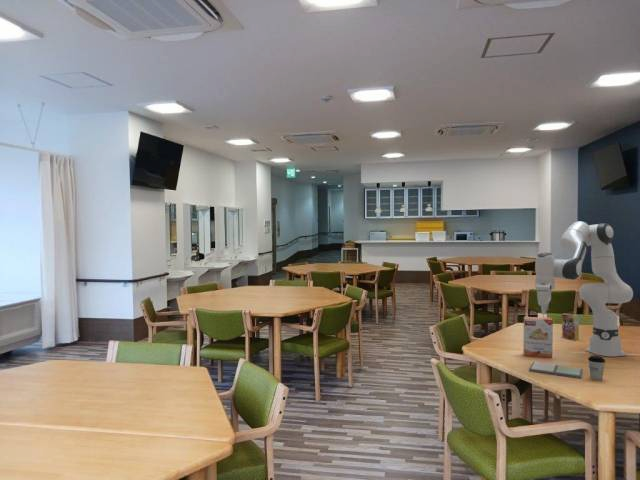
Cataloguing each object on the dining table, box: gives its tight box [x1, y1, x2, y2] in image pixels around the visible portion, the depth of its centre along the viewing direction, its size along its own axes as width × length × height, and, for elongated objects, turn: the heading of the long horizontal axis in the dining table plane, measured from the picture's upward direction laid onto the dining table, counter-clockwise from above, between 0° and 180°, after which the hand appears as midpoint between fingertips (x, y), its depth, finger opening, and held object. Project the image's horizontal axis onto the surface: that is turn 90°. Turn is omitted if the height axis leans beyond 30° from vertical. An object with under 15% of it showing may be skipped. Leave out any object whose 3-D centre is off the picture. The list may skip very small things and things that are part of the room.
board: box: [528, 361, 584, 379], centre depth 220 cm, size 14×22×1 cm, turn 57°
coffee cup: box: [587, 355, 606, 381], centre depth 209 cm, size 7×7×10 cm
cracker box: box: [523, 316, 554, 359], centre depth 246 cm, size 14×6×21 cm, turn 71°
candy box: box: [561, 312, 580, 341], centre depth 283 cm, size 9×4×15 cm, turn 23°
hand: (544, 312), depth 230 cm, fingers open, 8 cm apart
